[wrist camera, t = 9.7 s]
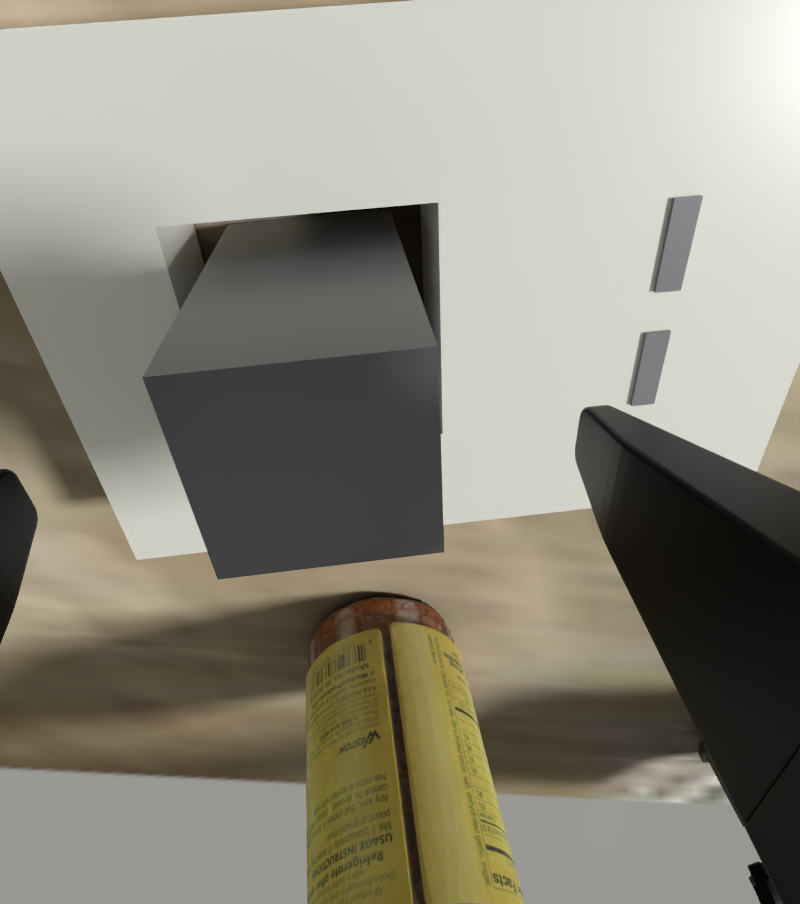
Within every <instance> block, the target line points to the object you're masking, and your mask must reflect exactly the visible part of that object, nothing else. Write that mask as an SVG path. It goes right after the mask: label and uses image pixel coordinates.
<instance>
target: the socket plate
mask: <svg viewBox="0 0 800 904" xmlns="http://www.w3.org/2000/svg"><path fill="white" fill-rule="evenodd" d="M415 204H420V211H421V239H422V267H423V295H424V308H425V311H426V314H427V317H428V319H429V322H430V325H431V328H432V331H433V333H434V336H435V339H436V342H437V345H438V361H439V395H440V429H441V463H442V497H443V525H447V524H456V523H465V522H473V521H482V520H491V519H500V518H509V517H517V516H526V515H535V514H544V513H553V512H561V511H570V510H579V509H588V508H592V507H591V504H590V501H589V498H588V495H587V492H586V490H585V487H584V484H583V481H582V478H581V475H580V472H579V469H578V467H577V464H576V459H575V445H576V438H577V431H578V424H579V418H580V414H581V412H582V410H583V409H584V408H585V407H591V406H600V405H610V406H612V407H614V408H617V409H619V410H621V411H623V412H625V413H628V414H630V415H632V416H634V417H636V418H639V419H641V420H643V421H645V422H647V423H650V424H652V425H654V426H656V427H658V428H661V429H663V430H665V431H667V432H669V433H672V434H674V435H676V436H678V437H681V438H683V439H685V440H687V441H689V442H692V443H694V444H696V445H698V446H700V447H703V448H705V449H707V450H709V451H711V452H714V453H716V454H718V455H720V456H723V457H725V458H727V459H729V460H731V461H734V462H736V463H738V464H740V465H742V466H745V467H747V468H749V469H751V470H753V471H756V472H757V470H758V467H759V465H760V462H761V459H762V457H763V454H764V452H765V449H766V447H767V444H768V441H769V439H770V436H771V434H772V431H773V429H774V426H775V423H776V421H777V418H778V416H779V413H780V411H781V408H782V406H783V403H784V400H785V398H786V395H787V393H788V390H789V388H790V385H791V382H792V380H793V377H794V375H795V372H796V370H797V367H798V364H799V362H800V0H413V1H399V2H385V3H370V4H356V5H342V6H327V7H313V8H299V9H284V10H270V11H255V12H241V13H227V14H212V15H198V16H184V17H169V18H155V19H141V20H126V21H112V22H98V23H83V24H69V25H55V26H40V27H26V28H12V29H0V271H1V273H2V275H3V277H4V279H5V281H6V283H7V285H8V288H9V290H10V292H11V294H12V296H13V298H14V300H15V302H16V305H17V307H18V309H19V311H20V313H21V315H22V317H23V319H24V322H25V324H26V326H27V328H28V330H29V332H30V334H31V336H32V338H33V341H34V343H35V345H36V347H37V349H38V351H39V353H40V355H41V358H42V360H43V362H44V364H45V366H46V368H47V370H48V372H49V375H50V377H51V379H52V381H53V383H54V385H55V387H56V389H57V392H58V394H59V396H60V398H61V400H62V402H63V404H64V406H65V408H66V411H67V413H68V415H69V417H70V419H71V421H72V423H73V425H74V428H75V430H76V432H77V434H78V436H79V438H80V440H81V442H82V445H83V447H84V449H85V451H86V453H87V455H88V457H89V459H90V462H91V464H92V466H93V468H94V470H95V472H96V474H97V476H98V478H99V481H100V483H101V485H102V487H103V489H104V491H105V493H106V495H107V498H108V500H109V502H110V504H111V506H112V508H113V510H114V512H115V515H116V517H117V519H118V521H119V523H120V525H121V527H122V529H123V532H124V534H125V536H126V538H127V540H128V542H129V544H130V546H131V548H132V551H133V553H134V555H135V557H136V559H137V560H140V559H148V558H157V557H166V556H175V555H184V554H192V553H201V552H208V551H207V549H206V546H205V543H204V541H203V538H202V535H201V533H200V530H199V527H198V525H197V522H196V519H195V517H194V514H193V511H192V509H191V506H190V503H189V501H188V498H187V495H186V493H185V490H184V487H183V485H182V482H181V479H180V477H179V474H178V471H177V469H176V466H175V463H174V461H173V458H172V455H171V453H170V450H169V447H168V445H167V442H166V439H165V437H164V434H163V431H162V429H161V426H160V423H159V421H158V418H157V415H156V413H155V410H154V407H153V405H152V402H151V399H150V397H149V394H148V391H147V389H146V386H145V383H144V381H143V378H142V377H143V375H144V373H145V372H146V370H147V368H148V366H149V364H150V363H151V361H152V359H153V357H154V356H155V354H156V352H157V350H158V348H159V347H160V345H161V343H162V341H163V339H164V338H165V336H166V334H167V332H168V331H169V329H170V327H171V325H172V323H173V322H174V320H175V318H176V316H177V314H178V313H179V311H180V309H181V307H182V306H183V304H184V302H185V300H186V298H187V297H188V295H189V293H190V291H191V289H192V288H193V286H194V284H195V282H196V281H197V279H198V277H199V275H200V273H201V272H202V270H203V268H204V262H203V258H202V254H201V250H200V246H199V242H198V239H197V235H196V231H195V227H194V224H196V223H207V222H219V221H231V220H242V219H254V218H265V217H277V216H288V215H300V214H311V213H323V212H334V211H346V210H357V209H369V208H380V207H392V206H403V205H415Z"/></svg>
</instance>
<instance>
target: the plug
mask: <svg viewBox="0 0 800 904" xmlns="http://www.w3.org/2000/svg"><path fill="white" fill-rule="evenodd" d="M142 378H143V381H144V383H145V386H146V389H147V391H148V394H149V397H150V399H151V402H152V405H153V407H154V410H155V413H156V415H157V418H158V421H159V423H160V426H161V429H162V431H163V434H164V437H165V439H166V442H167V445H168V447H169V450H170V453H171V455H172V458H173V461H174V463H175V466H176V469H177V471H178V474H179V477H180V479H181V482H182V485H183V487H184V490H185V493H186V495H187V498H188V501H189V503H190V506H191V509H192V511H193V514H194V517H195V519H196V522H197V525H198V527H199V530H200V533H201V535H202V538H203V541H204V543H205V546H206V549H207V551H208V554H209V557H210V559H211V562H212V565H213V567H214V570H215V573H216V575H217V578H218V579H225V578H233V577H241V576H250V575H258V574H266V573H275V572H283V571H291V570H300V569H308V568H316V567H324V566H333V565H341V564H349V563H358V562H366V561H374V560H383V559H391V558H399V557H407V556H416V555H424V554H432V553H441V552H444V530H443V497H442V463H441V429H440V395H439V361H438V345H437V342H436V339H435V336H434V333H433V331H432V328H431V325H430V322H429V319H428V317H427V314H426V311H425V308H424V305H423V303H422V300H421V297H420V294H419V291H418V289H417V286H416V283H415V280H414V277H413V275H412V272H411V269H410V266H409V263H408V260H407V258H406V255H405V252H404V249H403V246H402V244H401V241H400V238H399V235H398V232H397V230H396V227H395V224H394V221H393V218H392V216H391V213H390V210H389V209H380V210H370V211H359V212H349V213H338V214H328V215H317V216H307V217H296V218H285V219H275V220H264V221H254V222H243V223H233V224H228V225H227V227H226V229H225V231H224V232H223V234H222V236H221V238H220V240H219V241H218V243H217V245H216V247H215V248H214V250H213V252H212V254H211V256H210V257H209V259H208V261H207V263H206V265H205V266H204V268H203V270H202V272H201V273H200V275H199V277H198V279H197V281H196V282H195V284H194V286H193V288H192V289H191V291H190V293H189V295H188V297H187V298H186V300H185V302H184V304H183V306H182V307H181V309H180V311H179V313H178V314H177V316H176V318H175V320H174V322H173V323H172V325H171V327H170V329H169V331H168V332H167V334H166V336H165V338H164V339H163V341H162V343H161V345H160V347H159V348H158V350H157V352H156V354H155V356H154V357H153V359H152V361H151V363H150V364H149V366H148V368H147V370H146V372H145V373H144V375H143V377H142Z"/></svg>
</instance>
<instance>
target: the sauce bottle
mask: <svg viewBox="0 0 800 904" xmlns="http://www.w3.org/2000/svg"><path fill="white" fill-rule="evenodd" d="M306 747H307V759H306V796H307V798H306V801H307V903H308V904H525V902H524V898H523V895H522V891H521V887H520V883H519V879H518V875H517V871H516V868H515V864H514V860H513V856H512V853H511V849H510V845H509V841H508V838H507V834H506V830H505V826H504V822H503V818H502V815H501V811H500V807H499V803H498V799H497V795H496V792H495V788H494V784H493V780H492V776H491V772H490V768H489V764H488V760H487V756H486V753H485V749H484V745H483V741H482V737H481V733H480V729H479V725H478V721H477V717H476V713H475V709H474V705H473V701H472V697H471V693H470V689H469V685H468V681H467V677H466V673H465V670H464V666H463V662H462V659H461V655H460V651H459V649H458V647H457V646H456V645H455V643H454V640H453V639H452V637H451V632H450V630H449V629H448V627H447V625H446V623H445V621H444V620H443V619H442V618H441V616H440V615H439V613H437V612H436V610H435V609H433V608H432V607H431V606H429V605H428V604H427V603H421V602H418V601H413V600H408V599H397V598H392V597H380V598H379V597H373V598H370V599H366V600H361V601H355V602H354V603H352V604H350V605H347V606H346V607H344V608H341V609H339V610H336V611H335V612H333V613H332V614H330V615H329V617H327V618H326V619H325V620H323V621H322V623H321V624H320V625H319V627H318V628H317V629H316V630H315V633H314V636H313V639H312V641H311V645H310V649H309V671H308V673H307V677H306Z"/></svg>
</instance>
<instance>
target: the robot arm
mask: <svg viewBox="0 0 800 904" xmlns="http://www.w3.org/2000/svg"><path fill="white" fill-rule="evenodd" d="M575 459H576V464H577V467H578V469H579V472H580V475H581V478H582V481H583V484H584V487H585V490H586V492H587V495H588V498H589V501H590V504H591V507H592V510H593V513H594V515H595V518H596V521H597V524H598V527H599V529H600V532H601V535H602V537H603V540H604V542H605V544H606V546H607V548H608V551H609V553H610V555H611V557H612V559H613V561H614V563H615V565H616V567H617V569H618V571H619V573H620V575H621V577H622V579H623V581H624V583H625V585H626V587H627V589H628V591H629V593H630V595H631V597H632V599H633V601H634V603H635V605H636V607H637V609H638V611H639V613H640V615H641V617H642V619H643V621H644V623H645V625H646V627H647V629H648V632H649V634H650V636H651V638H652V640H653V642H654V644H655V646H656V648H657V650H658V652H659V654H660V656H661V658H662V660H663V662H664V664H665V666H666V668H667V670H668V672H669V674H670V676H671V678H672V680H673V682H674V684H675V686H676V688H677V690H678V692H679V694H680V696H681V698H682V700H683V702H684V704H685V706H686V708H687V710H688V712H689V714H690V716H691V719H692V721H693V723H694V725H695V727H696V729H697V731H698V733H699V735H700V737H701V739H702V741H703V744H702V746H701V748H700V750H699V752H698V754H699V756H700V758H701V760H702V761H703V762H709V763H710V765H711V767H712V769H713V770H714V772H715V774H716V776H717V778H718V780H719V782H720V784H721V786H722V787H723V789H724V791H725V793H726V795H727V797H728V799H729V801H730V803H731V804H732V806H733V808H734V810H735V812H736V814H737V816H738V818H739V820H740V821H741V823H742V825H743V826H744V827H745V828H746V831H747V833H748V835H749V837H750V839H751V841H752V843H753V845H754V847H755V849H756V851H757V853H758V855H759V857H760V859H761V861H762V863H760V862H755V863H753V864H750V865H748V868H749V870H750V872H751V876H750V877H749V880H750V882H751V884H752V885H753V888H754V889H755V891H756V894H757V896H758V898H759V901H760V903H761V904H800V491H798V490H795V489H793V488H791V487H789V486H787V485H784V484H782V483H780V482H778V481H776V480H773V479H771V478H769V477H767V476H764V475H762V474H760V473H758V472H756V471H753V470H751V469H749V468H747V467H745V466H742V465H740V464H738V463H736V462H734V461H731V460H729V459H727V458H725V457H723V456H720V455H718V454H716V453H714V452H711V451H709V450H707V449H705V448H703V447H700V446H698V445H696V444H694V443H692V442H689V441H687V440H685V439H683V438H681V437H678V436H676V435H674V434H672V433H669V432H667V431H665V430H663V429H661V428H658V427H656V426H654V425H652V424H650V423H647V422H645V421H643V420H641V419H639V418H636V417H634V416H632V415H630V414H628V413H625V412H623V411H621V410H619V409H617V408H614V407H612V406H610V405H600V406H591V407H585V408H584V409H583V410H582V412H581V414H580V418H579V424H578V431H577V438H576V445H575ZM37 521H38V516H37V511H36V508H35V506H34V504H33V503H32V501H31V499H30V498H29V496H28V494H27V492H26V491H25V489H24V487H23V485H22V484H21V482H20V480H19V479H18V477H17V476H16V474H15V473H14V472H12V471H11V470H8V469H0V644H1V641H2V639H3V636H4V634H5V631H6V628H7V626H8V623H9V621H10V618H11V615H12V613H13V610H14V607H15V604H16V600H17V597H18V594H19V590H20V586H21V583H22V579H23V575H24V571H25V568H26V564H27V560H28V557H29V553H30V549H31V545H32V542H33V538H34V534H35V531H36V527H37Z"/></svg>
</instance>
